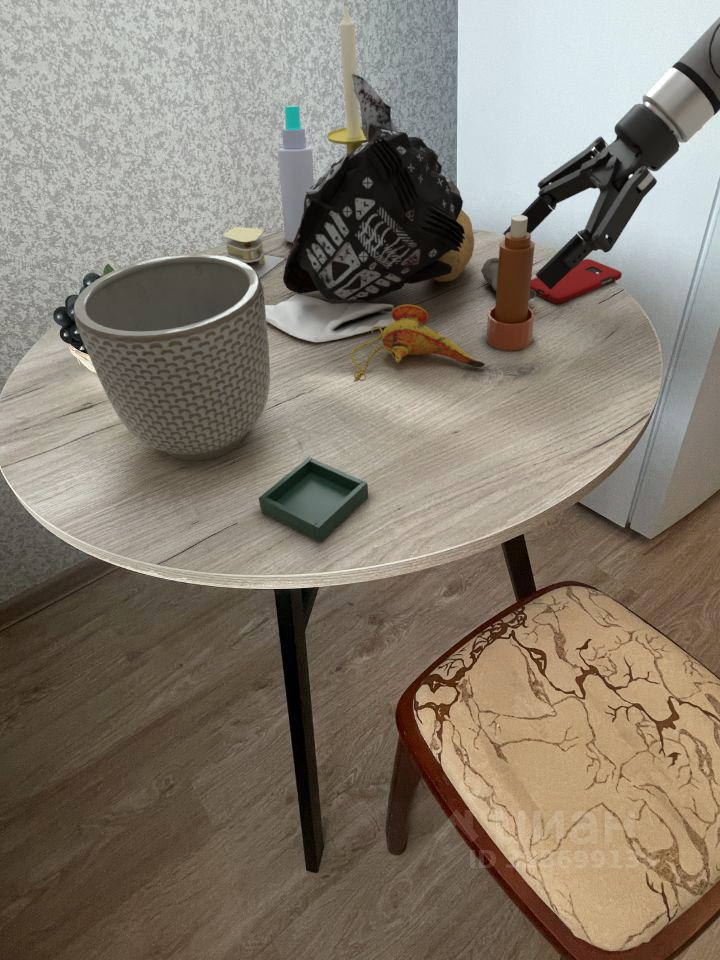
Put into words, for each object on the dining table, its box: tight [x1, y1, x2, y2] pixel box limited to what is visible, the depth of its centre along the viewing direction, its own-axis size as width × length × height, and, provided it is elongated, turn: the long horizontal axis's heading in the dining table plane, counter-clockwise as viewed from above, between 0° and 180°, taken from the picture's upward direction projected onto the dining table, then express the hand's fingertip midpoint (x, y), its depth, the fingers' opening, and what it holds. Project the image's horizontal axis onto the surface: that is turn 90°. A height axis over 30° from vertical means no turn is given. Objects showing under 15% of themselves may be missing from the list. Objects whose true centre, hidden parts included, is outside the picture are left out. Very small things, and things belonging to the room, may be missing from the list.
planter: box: [73, 253, 271, 462], centre depth 79 cm, size 20×20×19 cm
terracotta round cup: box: [486, 306, 535, 352], centre depth 97 cm, size 6×6×4 cm
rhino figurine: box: [480, 257, 537, 301], centre depth 108 cm, size 4×14×6 cm
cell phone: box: [530, 258, 623, 305], centre depth 110 cm, size 8×15×1 cm, turn 124°
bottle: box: [494, 214, 536, 324], centre depth 93 cm, size 4×4×16 cm
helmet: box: [282, 74, 465, 302], centre depth 103 cm, size 26×26×30 cm
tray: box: [258, 456, 369, 544], centre depth 74 cm, size 8×8×2 cm
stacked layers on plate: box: [222, 226, 286, 279], centre depth 122 cm, size 10×9×6 cm
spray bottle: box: [277, 105, 315, 244], centre depth 124 cm, size 6×6×22 cm
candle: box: [326, 2, 368, 155], centre depth 110 cm, size 10×10×38 cm
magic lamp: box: [350, 304, 486, 383], centre depth 93 cm, size 7×18×11 cm
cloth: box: [265, 293, 395, 343], centre depth 105 cm, size 26×14×2 cm, turn 66°
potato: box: [431, 209, 475, 283], centre depth 112 cm, size 9×16×9 cm, turn 158°
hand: (525, 260), depth 91 cm, fingers open, 13 cm apart
